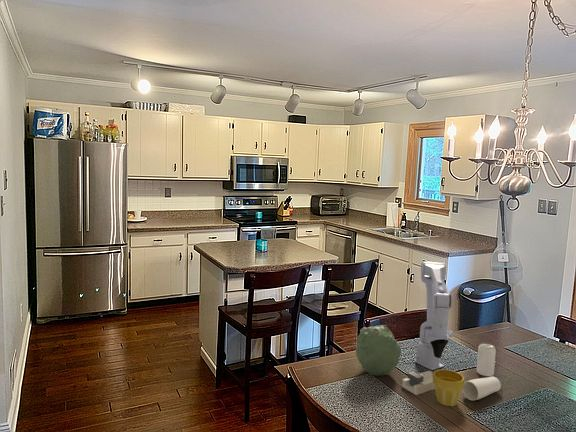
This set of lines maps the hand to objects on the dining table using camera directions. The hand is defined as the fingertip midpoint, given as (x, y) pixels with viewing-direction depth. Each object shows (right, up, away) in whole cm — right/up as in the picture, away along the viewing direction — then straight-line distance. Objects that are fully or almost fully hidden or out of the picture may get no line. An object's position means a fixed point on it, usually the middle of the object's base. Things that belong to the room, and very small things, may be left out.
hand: (437, 357), depth 172 cm
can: (+22, -10, +8) cm, 26 cm away
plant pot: (-2, -11, -15) cm, 19 cm away
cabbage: (-23, -8, +5) cm, 25 cm away
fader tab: (-11, -8, -7) cm, 15 cm away
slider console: (-7, -10, -4) cm, 13 cm away
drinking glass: (+20, -8, -6) cm, 22 cm away
